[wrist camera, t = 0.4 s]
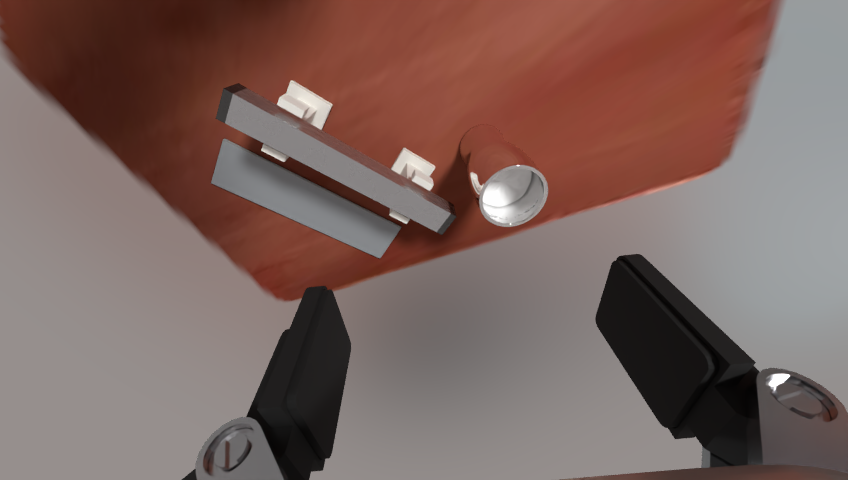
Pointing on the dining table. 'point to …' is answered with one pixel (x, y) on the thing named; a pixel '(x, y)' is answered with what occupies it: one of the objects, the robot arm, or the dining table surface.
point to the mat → (301, 200)
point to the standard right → (412, 174)
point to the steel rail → (331, 157)
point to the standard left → (301, 111)
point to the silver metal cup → (502, 177)
